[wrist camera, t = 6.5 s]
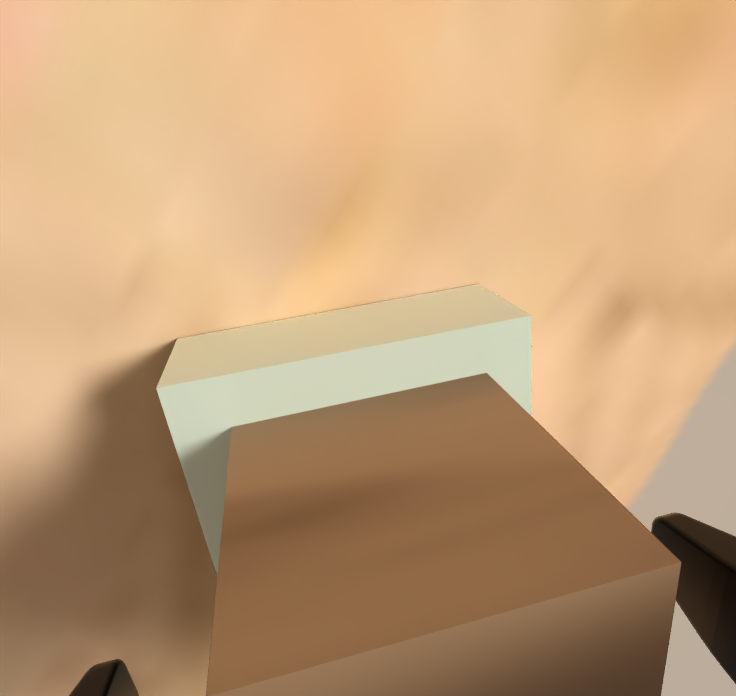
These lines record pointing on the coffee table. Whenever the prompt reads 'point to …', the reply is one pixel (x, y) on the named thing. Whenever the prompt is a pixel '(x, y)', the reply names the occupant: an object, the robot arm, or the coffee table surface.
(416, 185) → the coffee table surface
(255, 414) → the pale green block
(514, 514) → the walnut cube
